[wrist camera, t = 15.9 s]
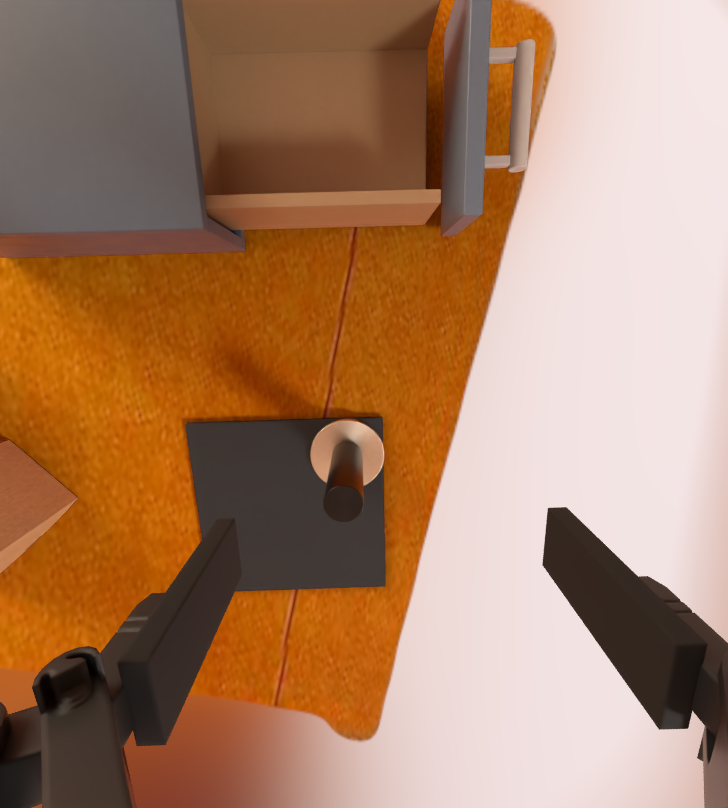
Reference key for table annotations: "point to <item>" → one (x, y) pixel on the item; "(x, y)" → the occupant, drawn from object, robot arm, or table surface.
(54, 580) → the table surface
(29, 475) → the sandwich container
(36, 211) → the cabinet
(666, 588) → the robot arm
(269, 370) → the table surface
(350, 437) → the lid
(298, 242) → the table surface
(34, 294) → the table surface
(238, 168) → the drawer
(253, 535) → the mat
